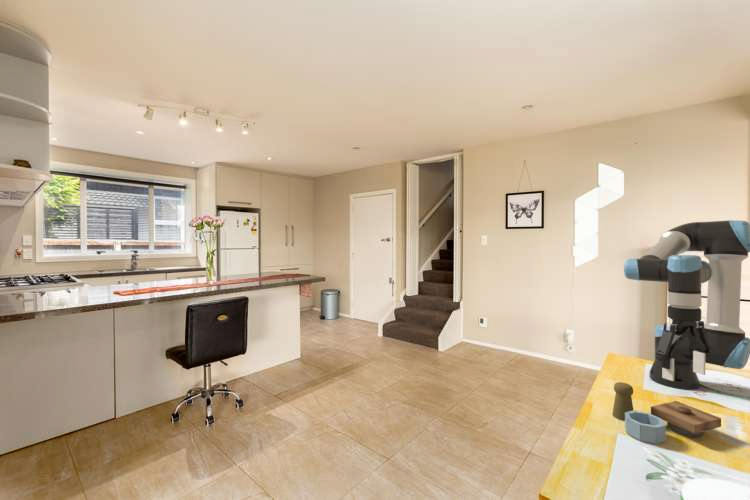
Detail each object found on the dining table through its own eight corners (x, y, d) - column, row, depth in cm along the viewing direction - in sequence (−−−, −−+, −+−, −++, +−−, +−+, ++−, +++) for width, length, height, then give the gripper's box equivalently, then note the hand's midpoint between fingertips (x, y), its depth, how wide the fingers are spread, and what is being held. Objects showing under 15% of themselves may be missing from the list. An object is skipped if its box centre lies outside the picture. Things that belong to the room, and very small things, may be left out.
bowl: (639, 424, 107) (639, 409, 106) (672, 440, 98) (672, 423, 98) (618, 430, 104) (618, 413, 104) (649, 446, 95) (649, 429, 95)
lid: (676, 408, 110) (676, 397, 110) (720, 426, 99) (721, 414, 99) (650, 414, 107) (650, 403, 107) (694, 434, 96) (694, 421, 96)
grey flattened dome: (678, 421, 108) (678, 411, 108) (709, 434, 101) (709, 424, 100) (660, 425, 106) (660, 416, 106) (691, 439, 98) (691, 429, 98)
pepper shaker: (639, 422, 108) (639, 388, 108) (617, 420, 109) (617, 387, 109) (628, 413, 114) (628, 380, 114) (608, 411, 115) (608, 379, 115)
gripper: (697, 301, 110) (697, 366, 110) (641, 307, 102) (641, 376, 103) (727, 305, 102) (726, 375, 103) (668, 311, 95) (668, 386, 96)
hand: (683, 376), depth 103 cm, fingers open, 13 cm apart
